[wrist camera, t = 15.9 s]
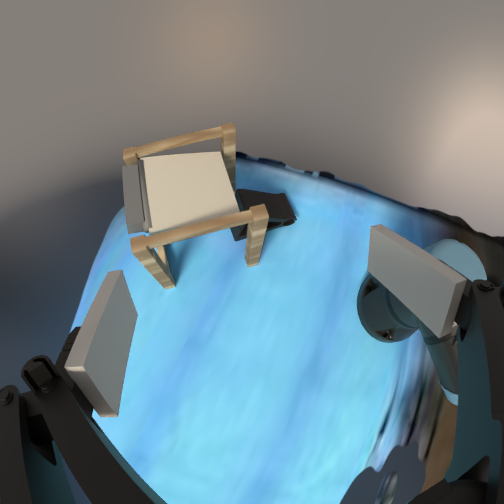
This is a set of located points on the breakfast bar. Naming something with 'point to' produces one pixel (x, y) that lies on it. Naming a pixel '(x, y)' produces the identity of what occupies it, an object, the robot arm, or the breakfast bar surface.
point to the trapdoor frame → (254, 218)
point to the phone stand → (274, 204)
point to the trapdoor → (176, 191)
